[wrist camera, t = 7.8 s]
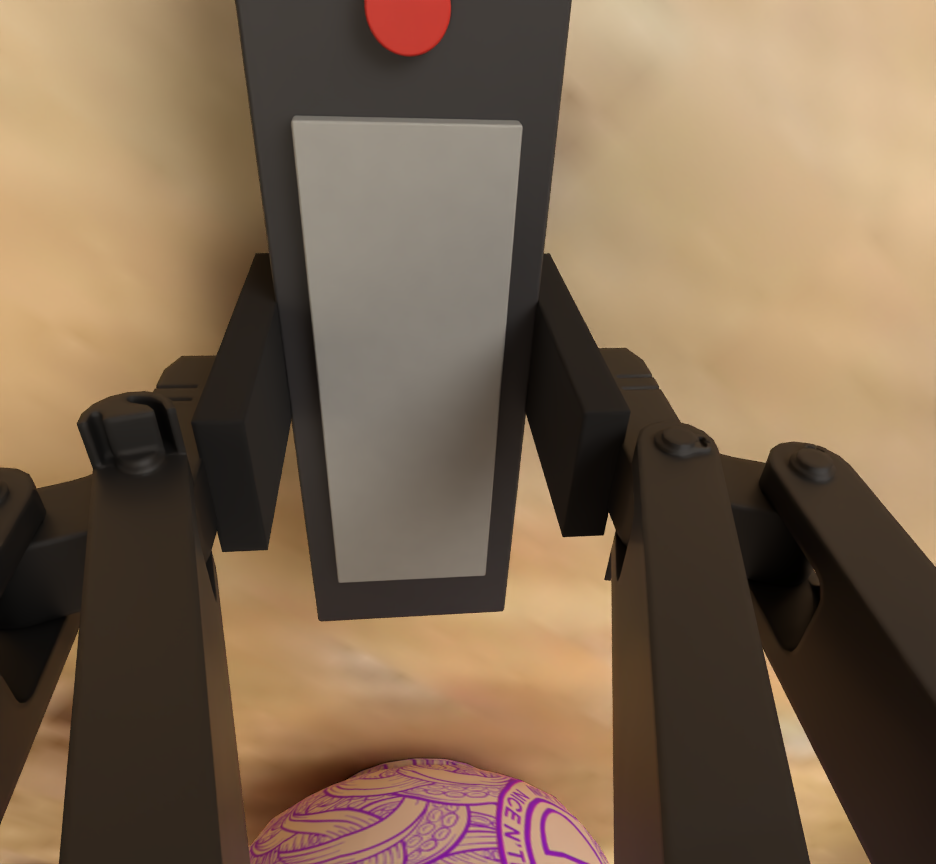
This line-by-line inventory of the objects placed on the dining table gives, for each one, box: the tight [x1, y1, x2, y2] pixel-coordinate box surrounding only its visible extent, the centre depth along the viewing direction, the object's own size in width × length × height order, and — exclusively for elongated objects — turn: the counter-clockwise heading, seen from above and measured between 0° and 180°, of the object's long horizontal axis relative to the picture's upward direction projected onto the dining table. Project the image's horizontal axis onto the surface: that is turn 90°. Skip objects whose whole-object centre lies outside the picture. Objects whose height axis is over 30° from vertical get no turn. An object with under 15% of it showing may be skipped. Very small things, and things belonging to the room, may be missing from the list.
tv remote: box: [235, 0, 572, 621], centre depth 15 cm, size 17×5×3 cm, turn 178°
